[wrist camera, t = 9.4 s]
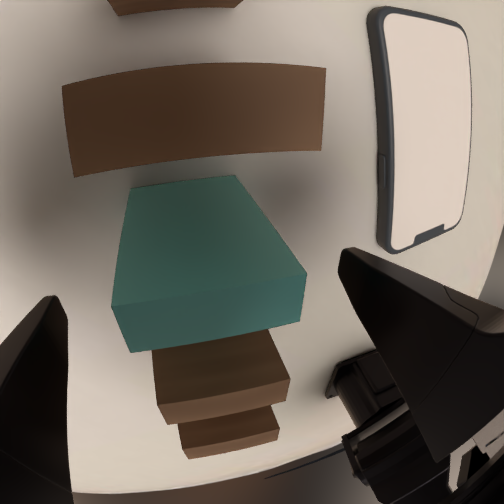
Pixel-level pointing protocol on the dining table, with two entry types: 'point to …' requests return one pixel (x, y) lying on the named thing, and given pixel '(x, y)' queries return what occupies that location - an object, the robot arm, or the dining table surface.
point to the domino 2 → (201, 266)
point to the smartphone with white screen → (420, 124)
